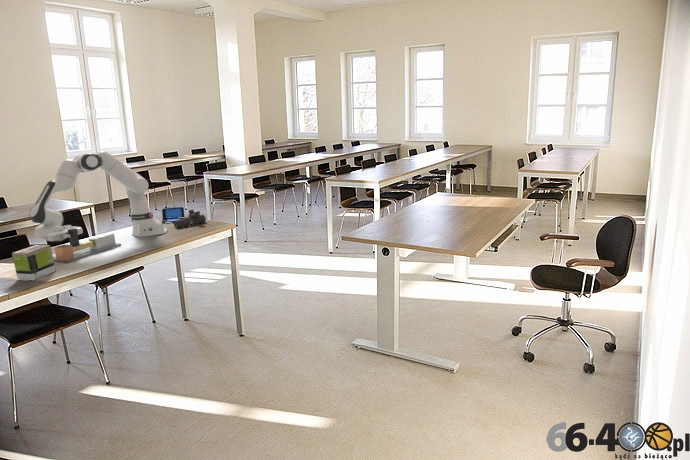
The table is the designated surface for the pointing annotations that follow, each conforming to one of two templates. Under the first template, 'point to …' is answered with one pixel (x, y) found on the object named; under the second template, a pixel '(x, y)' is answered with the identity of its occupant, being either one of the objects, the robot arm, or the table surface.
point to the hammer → (75, 241)
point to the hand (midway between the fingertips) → (74, 234)
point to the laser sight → (190, 219)
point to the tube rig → (101, 244)
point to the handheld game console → (172, 214)
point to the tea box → (33, 262)
